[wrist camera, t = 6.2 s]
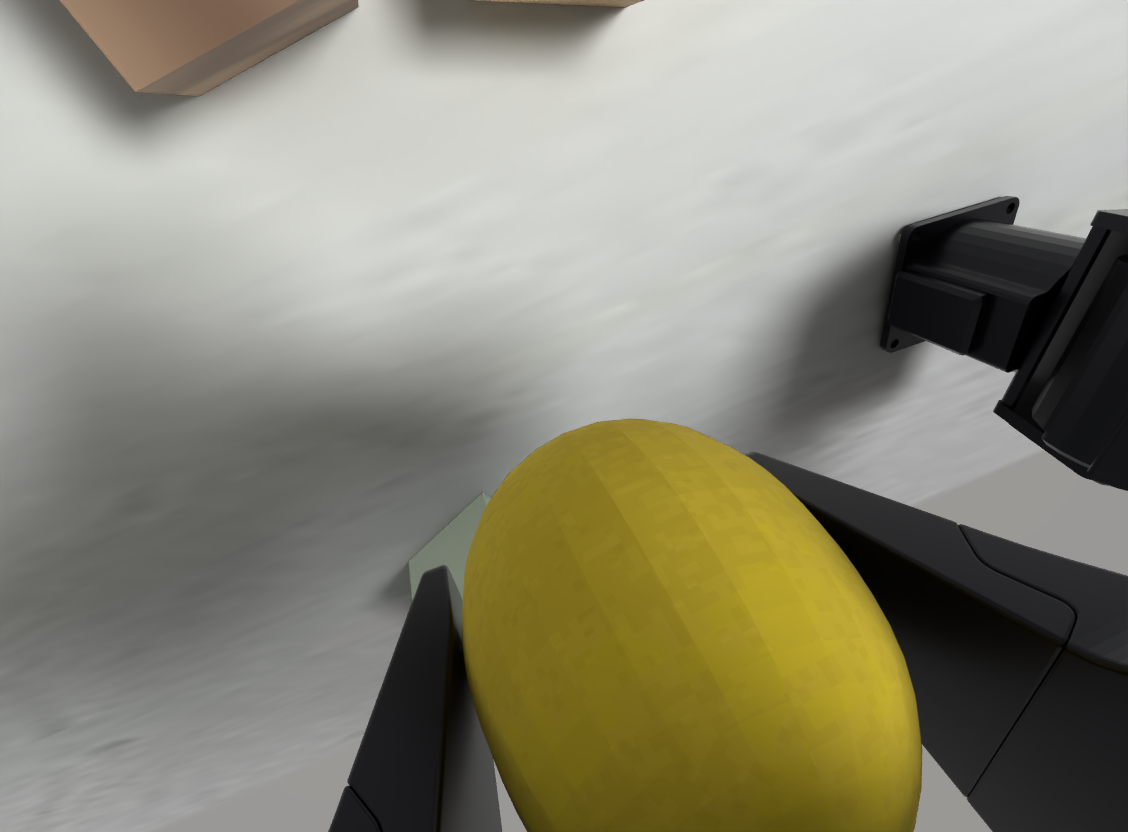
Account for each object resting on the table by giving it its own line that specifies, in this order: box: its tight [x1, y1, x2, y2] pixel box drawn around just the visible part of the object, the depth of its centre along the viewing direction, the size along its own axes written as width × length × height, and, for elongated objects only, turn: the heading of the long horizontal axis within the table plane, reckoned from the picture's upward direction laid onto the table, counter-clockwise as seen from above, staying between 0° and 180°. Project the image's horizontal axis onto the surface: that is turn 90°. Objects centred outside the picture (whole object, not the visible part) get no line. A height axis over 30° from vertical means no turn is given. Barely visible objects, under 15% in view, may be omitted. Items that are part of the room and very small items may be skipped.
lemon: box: [462, 419, 922, 832], centre depth 8 cm, size 6×6×8 cm
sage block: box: [409, 492, 491, 601], centre depth 24 cm, size 5×5×5 cm
